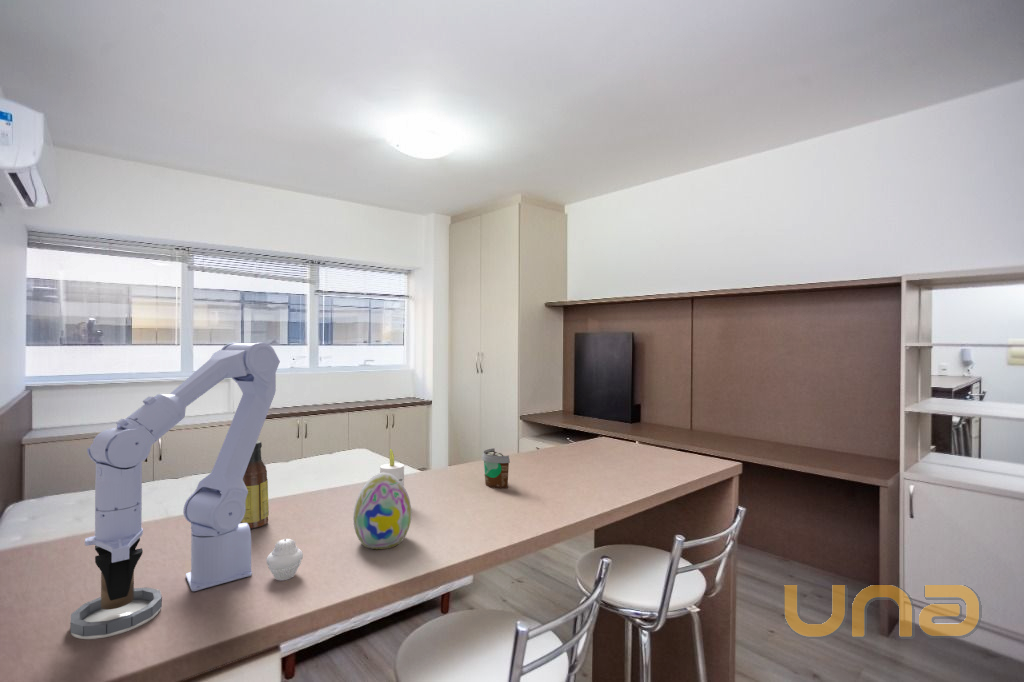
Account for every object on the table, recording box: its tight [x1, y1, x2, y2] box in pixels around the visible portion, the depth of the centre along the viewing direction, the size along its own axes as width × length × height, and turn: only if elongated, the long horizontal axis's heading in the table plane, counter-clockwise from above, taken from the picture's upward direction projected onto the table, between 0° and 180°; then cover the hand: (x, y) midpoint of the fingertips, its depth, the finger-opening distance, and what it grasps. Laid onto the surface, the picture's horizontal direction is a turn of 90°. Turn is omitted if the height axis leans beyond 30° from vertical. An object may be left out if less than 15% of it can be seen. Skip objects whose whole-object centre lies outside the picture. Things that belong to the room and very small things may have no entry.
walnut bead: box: [100, 571, 135, 610], centre depth 76 cm, size 4×4×6 cm
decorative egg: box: [353, 472, 412, 550], centre depth 106 cm, size 12×12×15 cm
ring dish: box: [69, 587, 163, 640], centre depth 76 cm, size 11×11×2 cm
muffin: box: [266, 538, 304, 581], centre depth 90 cm, size 6×6×7 cm
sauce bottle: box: [240, 440, 270, 530], centre depth 116 cm, size 7×6×20 cm
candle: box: [379, 448, 405, 487], centre depth 130 cm, size 6×6×15 cm
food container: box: [481, 447, 511, 490], centre depth 149 cm, size 12×6×10 cm, turn 25°
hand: (118, 591), depth 76 cm, fingers closed on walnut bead, 4 cm apart
